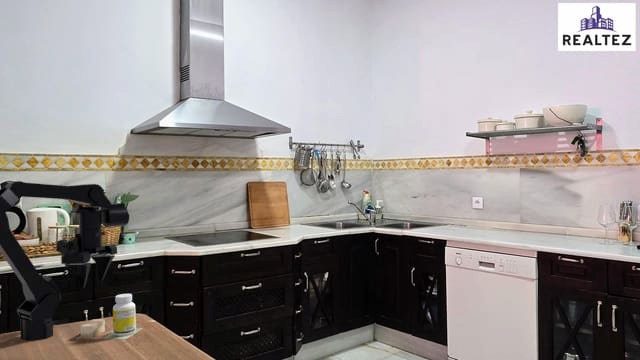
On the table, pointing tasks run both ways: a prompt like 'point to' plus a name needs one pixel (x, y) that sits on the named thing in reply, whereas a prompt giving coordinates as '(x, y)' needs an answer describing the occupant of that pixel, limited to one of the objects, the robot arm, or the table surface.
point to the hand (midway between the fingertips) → (91, 284)
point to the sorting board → (110, 335)
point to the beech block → (92, 328)
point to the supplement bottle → (124, 315)
